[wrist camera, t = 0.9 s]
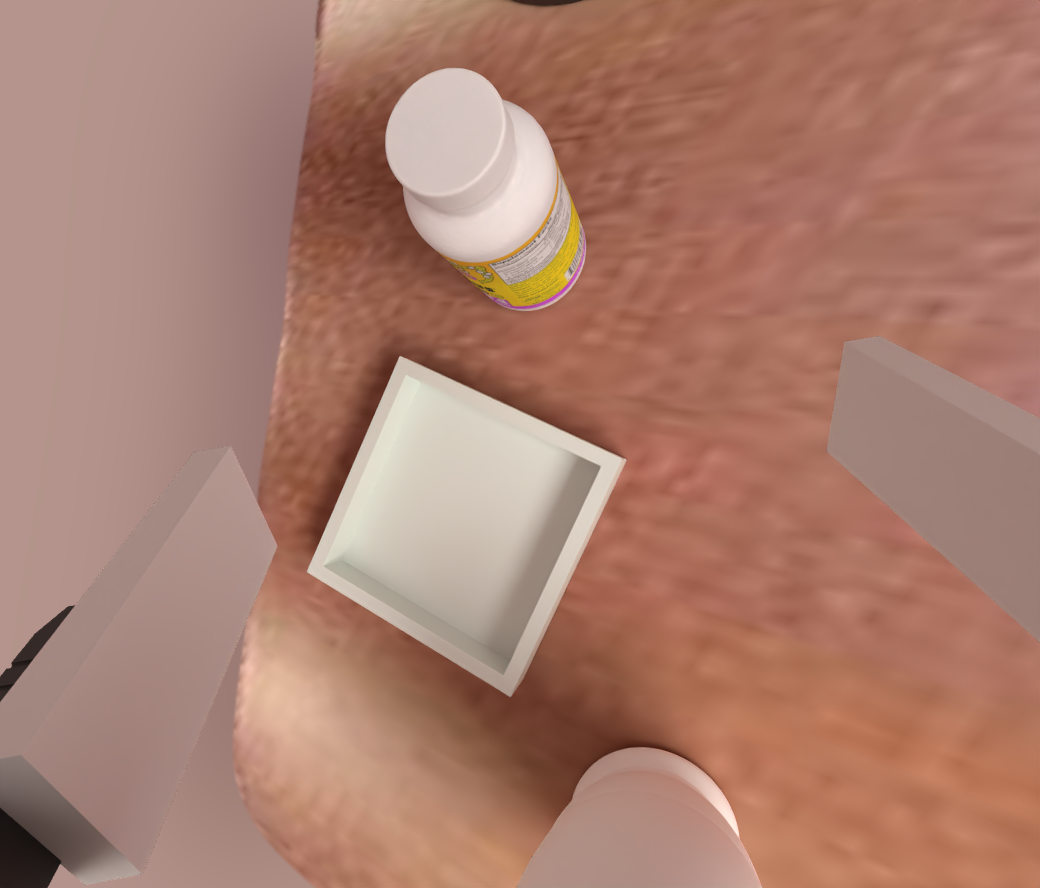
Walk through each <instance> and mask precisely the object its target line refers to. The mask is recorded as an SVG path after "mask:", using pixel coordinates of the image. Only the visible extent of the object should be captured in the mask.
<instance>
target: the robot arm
mask: <svg viewBox="0 0 1040 888" xmlns="http://www.w3.org/2000/svg"><path fill="white" fill-rule="evenodd" d="M515 1H518V2H523V3H527V4H535V5H559V4H567V3H572V2H577V1H581V0H515ZM827 452H828V453H829V454H830V455H831V456H832V457H833V458H835V459H836V460H837V461H838V462H839V463H840V464H841V465H842V466H844V467H845V468H846V469H847V470H848V471H849V472H850V473H851V474H852V475H854V476H855V477H856V478H857V479H858V480H859V481H860V482H861V483H863V484H864V485H865V486H866V487H867V488H868V489H869V490H870V491H871V492H873V493H874V494H875V495H876V496H877V497H878V498H879V499H880V500H881V501H883V502H884V503H885V504H886V505H887V506H888V507H889V508H890V509H892V510H893V511H894V512H895V513H896V514H897V515H898V516H899V517H900V518H902V519H903V520H904V521H905V522H906V523H907V524H908V525H909V526H910V527H912V528H913V529H914V530H915V531H916V532H917V533H918V534H919V535H921V536H922V537H923V538H924V539H925V540H926V541H927V542H928V543H929V544H931V545H932V546H933V547H934V548H935V549H936V550H937V551H938V552H939V553H941V554H942V555H943V556H944V557H945V558H946V559H947V560H948V561H950V562H951V563H952V564H953V565H954V566H955V567H956V568H957V569H958V570H960V571H961V572H962V573H963V574H964V575H965V576H966V577H967V578H969V579H970V580H971V581H972V582H973V583H974V584H975V585H976V586H977V587H979V588H980V589H981V590H982V591H983V592H984V593H985V594H986V595H987V596H989V597H990V598H991V599H992V600H993V601H994V602H995V603H996V604H998V605H999V606H1000V607H1001V608H1002V609H1003V610H1004V611H1005V612H1006V613H1008V614H1009V615H1010V616H1011V617H1012V618H1013V619H1014V620H1015V621H1016V622H1018V623H1019V624H1020V625H1021V626H1022V627H1023V628H1024V629H1025V630H1027V631H1028V632H1029V633H1030V634H1031V635H1032V636H1033V637H1034V638H1035V639H1037V640H1038V641H1039V642H1040V418H1038V417H1037V416H1035V415H1033V414H1031V413H1029V412H1027V411H1025V410H1023V409H1021V408H1019V407H1017V406H1015V405H1013V404H1011V403H1009V402H1007V401H1005V400H1003V399H1001V398H1000V397H998V396H996V395H994V394H992V393H990V392H988V391H986V390H984V389H982V388H980V387H978V386H976V385H974V384H972V383H970V382H968V381H966V380H964V379H963V378H961V377H959V376H957V375H955V374H953V373H951V372H949V371H947V370H945V369H943V368H941V367H939V366H937V365H935V364H933V363H931V362H929V361H927V360H926V359H924V358H922V357H920V356H918V355H916V354H914V353H912V352H910V351H908V350H906V349H904V348H902V347H900V346H898V345H896V344H894V343H892V342H890V341H889V340H887V339H885V338H883V337H881V336H877V337H871V338H865V339H859V340H853V341H847V342H845V343H844V349H843V355H842V361H841V367H840V373H839V379H838V385H837V391H836V397H835V403H834V409H833V416H832V422H831V428H830V434H829V440H828V446H827ZM276 549H277V544H276V542H275V540H274V537H273V535H272V533H271V531H270V529H269V527H268V525H267V522H266V520H265V518H264V516H263V514H262V512H261V510H260V507H259V505H258V503H257V501H256V499H255V497H254V495H253V492H252V490H251V488H250V486H249V484H248V482H247V480H246V477H245V476H244V473H243V471H242V469H241V467H240V464H239V462H238V460H237V458H236V456H235V454H234V452H233V449H232V447H231V446H227V447H221V448H215V449H210V450H203V451H197V452H194V453H193V454H192V455H191V457H190V458H189V459H188V461H187V462H186V463H185V465H184V466H183V467H182V468H181V470H180V471H179V472H178V474H177V475H176V476H175V477H174V479H173V480H172V481H171V483H170V484H169V485H168V487H167V488H166V489H165V490H164V492H163V493H162V494H161V495H160V497H159V498H158V500H157V501H156V502H155V503H154V505H153V506H152V507H151V508H150V510H149V511H148V512H147V514H146V515H145V516H144V517H143V519H142V520H141V521H140V523H139V524H138V525H137V526H136V528H135V529H134V530H133V532H132V533H131V534H130V535H129V537H128V538H127V540H126V541H125V542H124V543H123V545H122V546H121V547H120V548H119V550H118V551H117V552H116V554H115V555H114V556H113V558H112V559H111V560H110V561H109V563H108V564H107V565H106V566H105V568H104V569H103V570H102V572H101V573H100V574H99V575H98V577H97V578H96V579H95V581H94V582H93V583H92V584H91V586H90V587H89V588H88V590H87V591H86V592H85V594H84V595H83V596H82V597H81V599H80V600H79V601H78V603H77V604H76V605H74V606H69V607H67V608H66V609H65V610H63V611H62V612H61V613H59V614H58V615H57V616H56V617H55V618H53V619H52V620H51V621H50V622H49V623H47V624H46V625H45V626H44V627H43V628H41V629H40V630H39V631H38V632H37V633H35V634H34V636H33V637H32V638H31V639H30V641H29V642H28V643H27V644H26V646H25V647H24V648H23V649H22V651H21V652H20V653H19V654H18V655H17V657H16V658H15V659H14V660H13V662H12V667H11V668H9V669H6V670H5V671H4V673H3V674H2V675H1V676H0V888H47V887H48V886H49V884H50V882H51V880H52V878H53V876H54V874H55V872H56V870H57V869H58V867H59V865H60V864H61V865H63V866H64V867H65V868H66V869H67V870H68V871H69V872H71V873H72V874H73V875H74V876H75V877H76V878H77V879H79V880H80V881H81V882H82V883H83V884H84V885H87V884H92V883H98V882H103V881H109V880H114V879H120V878H125V877H130V876H136V875H141V874H143V873H144V870H145V868H146V865H147V863H148V860H149V858H150V855H151V853H152V851H153V848H154V846H155V843H156V841H157V838H158V836H159V834H160V831H161V829H162V826H163V824H164V821H165V819H166V817H167V814H168V811H169V809H170V806H171V804H172V802H173V799H174V797H175V795H176V792H177V790H178V787H179V785H180V782H181V780H182V778H183V775H184V773H185V770H186V768H187V765H188V763H189V760H190V758H191V756H192V753H193V750H194V748H195V746H196V743H197V741H198V739H199V736H200V734H201V731H202V729H203V726H204V724H205V721H206V719H207V717H208V714H209V712H210V709H211V707H212V704H213V702H214V700H215V697H216V695H217V692H218V690H219V687H220V685H221V683H222V680H223V678H224V675H225V673H226V670H227V668H228V665H229V663H230V661H231V658H232V656H233V653H234V651H235V649H236V646H237V644H238V641H239V639H240V636H241V633H242V632H243V629H244V627H245V624H246V622H247V619H248V617H249V614H250V612H251V610H252V607H253V605H254V602H255V600H256V597H257V595H258V593H259V590H260V588H261V585H262V583H263V580H264V578H265V576H266V573H267V571H268V568H269V566H270V563H271V561H272V558H273V556H274V554H275V551H276Z"/></svg>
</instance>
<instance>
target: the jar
mask: <svg viewBox="0 0 1040 888" xmlns="http://www.w3.org/2000/svg"><path fill="white" fill-rule="evenodd" d="M516 888H762V886H761V884H760V881H759V879H758V876H757V874H756V871H755V869H754V866H753V864H752V862H751V860H750V858H749V856H748V854H747V852H746V850H745V848H744V846H743V844H742V842H741V841H740V839H739V832H738V827H737V823H736V820H735V817H734V814H733V811H732V809H731V807H730V805H729V803H728V801H727V799H726V798H725V796H724V794H723V793H722V791H721V790H720V789H719V787H718V786H717V785H716V784H715V783H714V781H713V780H712V779H711V778H710V777H709V776H708V775H707V774H706V773H704V772H703V771H702V770H701V769H700V768H698V767H697V766H696V765H694V764H693V763H691V762H689V761H688V760H686V759H684V758H682V757H680V756H678V755H676V754H673V753H670V752H667V751H664V750H660V749H655V748H647V747H634V748H626V749H622V750H618V751H615V752H612V753H610V754H608V755H606V756H604V757H602V758H601V759H599V760H598V761H596V762H595V763H594V764H593V765H592V766H591V767H590V768H589V769H588V770H587V771H586V772H585V773H584V775H583V776H582V777H581V779H580V781H579V782H578V784H577V786H576V789H575V791H574V794H573V797H572V801H571V802H570V803H569V804H568V805H567V806H566V808H565V809H564V810H563V811H562V813H561V814H560V816H559V817H558V818H557V820H556V821H555V823H554V825H553V826H552V828H551V830H550V831H549V833H548V834H547V835H546V837H545V838H544V839H543V841H542V842H541V844H540V845H539V847H538V848H537V850H536V851H535V853H534V854H533V856H532V858H531V860H530V861H529V863H528V865H527V867H526V869H525V870H524V872H523V874H522V876H521V879H520V881H519V883H518V885H517V887H516Z"/></svg>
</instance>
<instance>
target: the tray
mask: <svg viewBox="0 0 1040 888" xmlns="http://www.w3.org/2000/svg"><path fill="white" fill-rule="evenodd" d="M626 460H627V459H625V458H623V457H621V456H618V455H616V454H614V453H612V452H610V451H608V450H605V449H603V448H601V447H599V446H597V445H595V444H592V443H590V442H588V441H586V440H584V439H582V438H579V437H577V436H575V435H573V434H571V433H569V432H566V431H564V430H562V429H560V428H558V427H556V426H553V425H551V424H549V423H547V422H545V421H543V420H540V419H538V418H536V417H534V416H532V415H529V414H527V413H525V412H523V411H521V410H519V409H516V408H514V407H512V406H510V405H508V404H506V403H503V402H501V401H499V400H497V399H495V398H493V397H490V396H488V395H486V394H484V393H482V392H480V391H477V390H475V389H473V388H471V387H469V386H467V385H464V384H462V383H460V382H458V381H456V380H454V379H451V378H449V377H447V376H445V375H443V374H441V373H438V372H436V371H434V370H432V369H430V368H428V367H425V366H423V365H421V364H419V363H416V362H414V361H411V360H409V359H406V358H404V357H401V356H400V357H399V359H398V361H397V364H396V366H395V368H394V371H393V373H392V375H391V378H390V380H389V382H388V385H387V387H386V389H385V392H384V394H383V396H382V399H381V401H380V403H379V405H378V408H377V410H376V412H375V415H374V417H373V419H372V422H371V424H370V426H369V429H368V431H367V433H366V436H365V438H364V440H363V443H362V445H361V447H360V450H359V452H358V454H357V457H356V459H355V461H354V464H353V466H352V468H351V471H350V473H349V475H348V478H347V480H346V482H345V485H344V487H343V489H342V491H341V494H340V496H339V498H338V501H337V503H336V505H335V508H334V510H333V512H332V515H331V517H330V519H329V522H328V524H327V526H326V529H325V531H324V533H323V536H322V538H321V540H320V543H319V545H318V547H317V550H316V552H315V554H314V557H313V559H312V561H311V564H310V566H309V568H308V571H307V572H308V573H309V574H311V575H313V576H314V577H316V578H318V579H319V580H321V581H322V582H324V583H326V584H327V585H329V586H331V587H332V588H334V589H335V590H337V591H339V592H340V593H342V594H344V595H345V596H347V597H348V598H350V599H352V600H353V601H355V602H357V603H358V604H360V605H361V606H363V607H365V608H366V609H368V610H370V611H371V612H373V613H374V614H376V615H378V616H379V617H381V618H383V619H384V620H386V621H387V622H389V623H391V624H392V625H394V626H396V627H397V628H399V629H400V630H402V631H404V632H405V633H407V634H409V635H410V636H412V637H413V638H415V639H417V640H418V641H420V642H422V643H423V644H425V645H427V646H428V647H430V648H431V649H433V650H435V651H436V652H438V653H440V654H441V655H443V656H444V657H446V658H448V659H449V660H451V661H453V662H454V663H456V664H457V665H459V666H461V667H462V668H464V669H466V670H467V671H469V672H470V673H472V674H474V675H475V676H477V677H479V678H480V679H482V680H483V681H485V682H487V683H488V684H490V685H492V686H493V687H495V688H496V689H498V690H500V691H501V692H503V693H505V694H506V695H508V696H509V697H511V696H512V694H513V693H514V692H515V690H516V689H517V688H518V686H519V685H520V683H521V682H522V681H523V679H524V677H525V675H526V673H527V670H528V668H529V666H530V664H531V662H532V660H533V658H534V656H535V653H536V651H537V649H538V647H539V645H540V643H541V641H542V639H543V637H544V634H545V632H546V630H547V628H548V626H549V624H550V622H551V620H552V617H553V615H554V613H555V611H556V609H557V607H558V605H559V603H560V600H561V598H562V596H563V594H564V592H565V590H566V588H567V586H568V583H569V581H570V579H571V577H572V575H573V573H574V571H575V569H576V566H577V564H578V562H579V560H580V558H581V556H582V554H583V552H584V549H585V547H586V545H587V543H588V541H589V539H590V537H591V535H592V532H593V530H594V528H595V526H596V524H597V522H598V520H599V518H600V516H601V513H602V511H603V509H604V507H605V505H606V503H607V501H608V499H609V496H610V494H611V492H612V490H613V488H614V486H615V484H616V482H617V479H618V477H619V475H620V473H621V471H622V469H623V467H624V465H625V462H626Z"/></svg>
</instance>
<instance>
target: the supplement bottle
mask: <svg viewBox="0 0 1040 888" xmlns="http://www.w3.org/2000/svg"><path fill="white" fill-rule="evenodd" d="M385 149H386V156H387V160H388V163H389V166H390V168H391V170H392V172H393V174H394V175H395V177H396V178H397V180H398V181H399V182H400V183H401V184H402V185H403V194H404V201H405V205H406V209H407V212H408V215H409V217H410V219H411V221H412V224H413V225H414V227H415V228H416V230H417V231H418V233H419V234H420V235H421V237H422V238H423V239H424V240H425V241H426V242H427V243H428V244H429V245H430V246H431V247H432V248H433V249H435V250H436V251H437V252H438V253H439V254H440V255H441V256H443V257H444V258H445V259H446V260H447V261H448V262H449V263H450V264H452V265H453V266H454V267H455V268H456V269H457V270H458V271H459V272H460V273H462V274H463V275H464V276H465V277H466V278H467V279H468V280H469V281H470V282H472V283H473V284H474V285H475V286H476V287H477V288H478V289H479V290H481V291H482V292H483V293H484V294H485V295H486V296H487V297H489V298H490V299H491V300H493V301H494V302H496V303H497V304H499V305H501V306H503V307H505V308H508V309H512V310H517V311H532V310H537V309H541V308H544V307H547V306H549V305H551V304H553V303H555V302H556V301H558V300H559V299H560V298H562V297H563V296H564V295H565V294H566V293H567V292H568V291H569V290H570V289H571V288H572V286H573V285H574V284H575V282H576V281H577V279H578V277H579V275H580V273H581V271H582V268H583V265H584V261H585V254H586V240H585V234H584V230H583V227H582V225H581V222H580V219H579V217H578V214H577V212H576V209H575V207H574V204H573V201H572V199H571V196H570V194H569V191H568V189H567V186H566V184H565V181H564V179H563V176H562V174H561V171H560V168H559V166H558V163H557V160H556V158H555V155H554V153H553V150H552V148H551V145H550V143H549V140H548V138H547V136H546V134H545V133H544V131H543V129H542V128H541V126H540V125H539V124H538V122H537V121H536V120H535V119H534V118H533V117H532V116H531V115H530V114H529V113H527V112H526V111H525V110H524V109H522V108H521V107H519V106H517V105H515V104H513V103H511V102H508V101H505V100H502V99H501V97H500V95H499V94H498V92H497V91H496V89H495V88H494V86H493V85H492V84H491V83H490V82H489V81H488V80H487V79H485V78H484V77H483V76H481V75H479V74H478V73H476V72H474V71H471V70H467V69H462V68H446V69H441V70H438V71H435V72H432V73H430V74H427V75H426V76H424V77H422V78H421V79H419V80H418V81H416V82H415V83H414V84H413V85H412V86H411V87H409V88H408V90H407V91H406V92H405V93H404V94H403V95H402V97H401V98H400V99H399V101H398V102H397V104H396V105H395V107H394V109H393V111H392V113H391V116H390V118H389V121H388V125H387V129H386V136H385Z"/></svg>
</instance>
